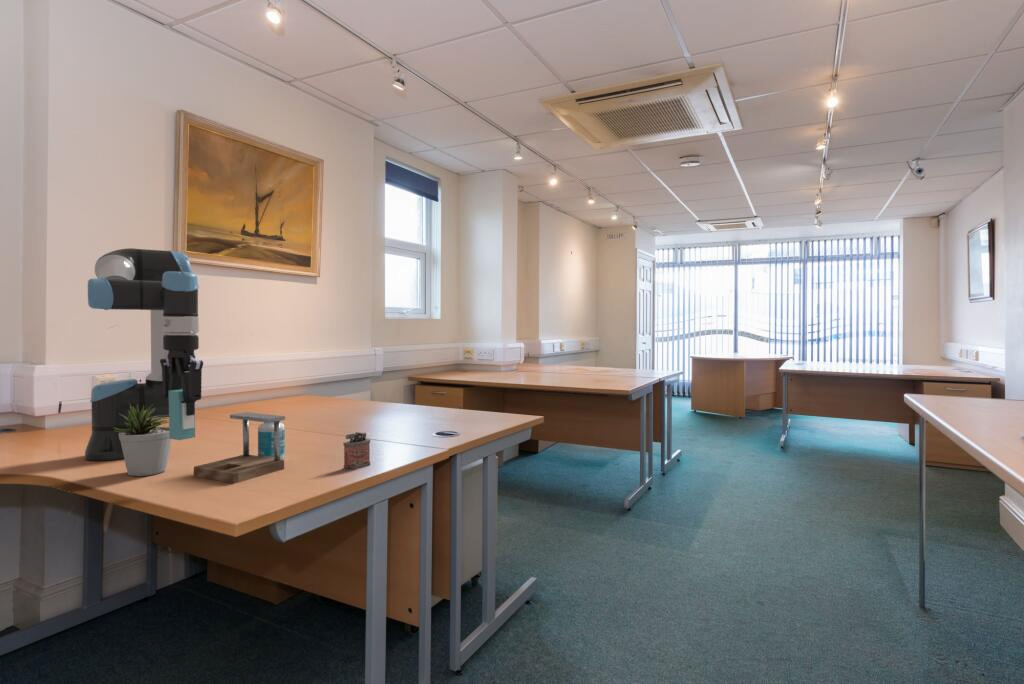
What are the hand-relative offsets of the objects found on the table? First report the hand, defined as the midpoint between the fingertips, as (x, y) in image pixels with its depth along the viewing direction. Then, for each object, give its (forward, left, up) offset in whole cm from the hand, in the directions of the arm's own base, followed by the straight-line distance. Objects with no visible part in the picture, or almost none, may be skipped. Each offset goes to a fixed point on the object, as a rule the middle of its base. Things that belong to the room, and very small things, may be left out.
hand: (182, 427), depth 134 cm
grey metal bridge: (0, +22, -15) cm, 26 cm away
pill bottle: (-3, +29, -16) cm, 33 cm away
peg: (0, 0, -3) cm, 3 cm away
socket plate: (0, +16, -15) cm, 22 cm away
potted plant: (-23, +4, -16) cm, 28 cm away
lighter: (+25, +35, -16) cm, 46 cm away
